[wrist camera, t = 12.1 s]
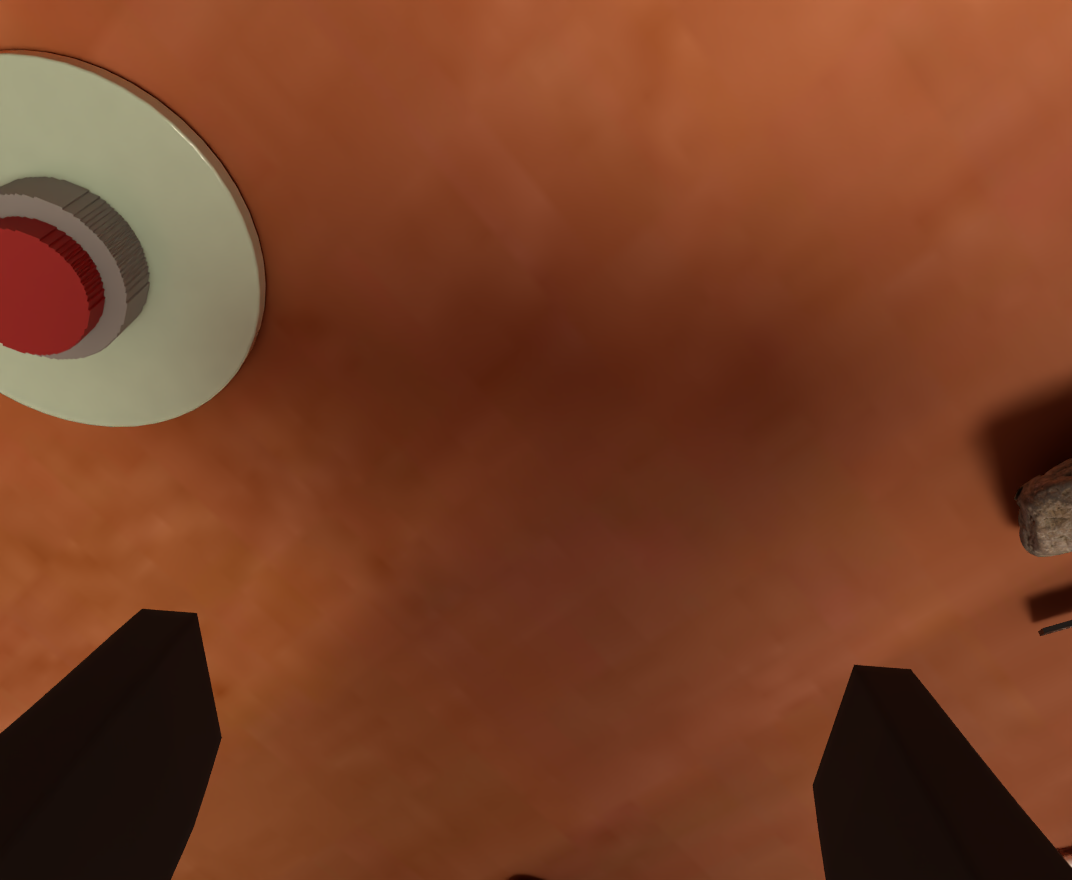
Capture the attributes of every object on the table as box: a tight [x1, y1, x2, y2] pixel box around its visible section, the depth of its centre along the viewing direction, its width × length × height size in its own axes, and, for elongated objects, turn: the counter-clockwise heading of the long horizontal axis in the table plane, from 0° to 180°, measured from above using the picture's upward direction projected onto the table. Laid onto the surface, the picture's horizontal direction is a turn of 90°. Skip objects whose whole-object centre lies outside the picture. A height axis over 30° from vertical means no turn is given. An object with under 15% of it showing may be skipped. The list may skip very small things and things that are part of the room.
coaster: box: [0, 50, 266, 427], centre depth 16 cm, size 7×7×1 cm
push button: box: [0, 176, 150, 360], centre depth 16 cm, size 3×3×2 cm
